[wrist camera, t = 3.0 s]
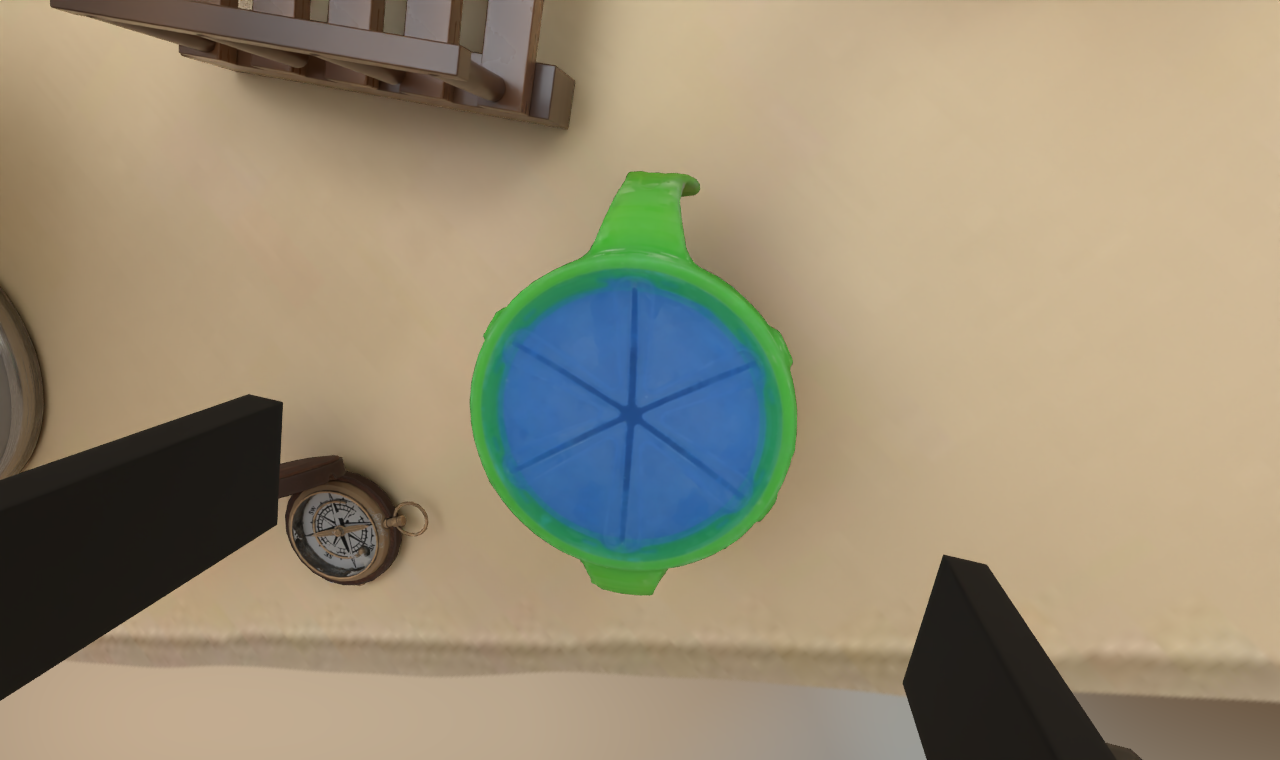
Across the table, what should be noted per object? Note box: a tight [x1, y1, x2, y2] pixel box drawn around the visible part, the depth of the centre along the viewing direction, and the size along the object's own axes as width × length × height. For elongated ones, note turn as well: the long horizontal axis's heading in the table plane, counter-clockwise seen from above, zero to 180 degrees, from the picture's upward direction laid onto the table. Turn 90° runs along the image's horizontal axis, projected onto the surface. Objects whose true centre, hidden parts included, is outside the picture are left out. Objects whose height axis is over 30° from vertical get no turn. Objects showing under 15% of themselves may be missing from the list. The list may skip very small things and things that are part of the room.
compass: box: [278, 455, 428, 586], centre depth 32 cm, size 8×8×7 cm
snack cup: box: [470, 171, 797, 596], centre depth 27 cm, size 16×10×10 cm
